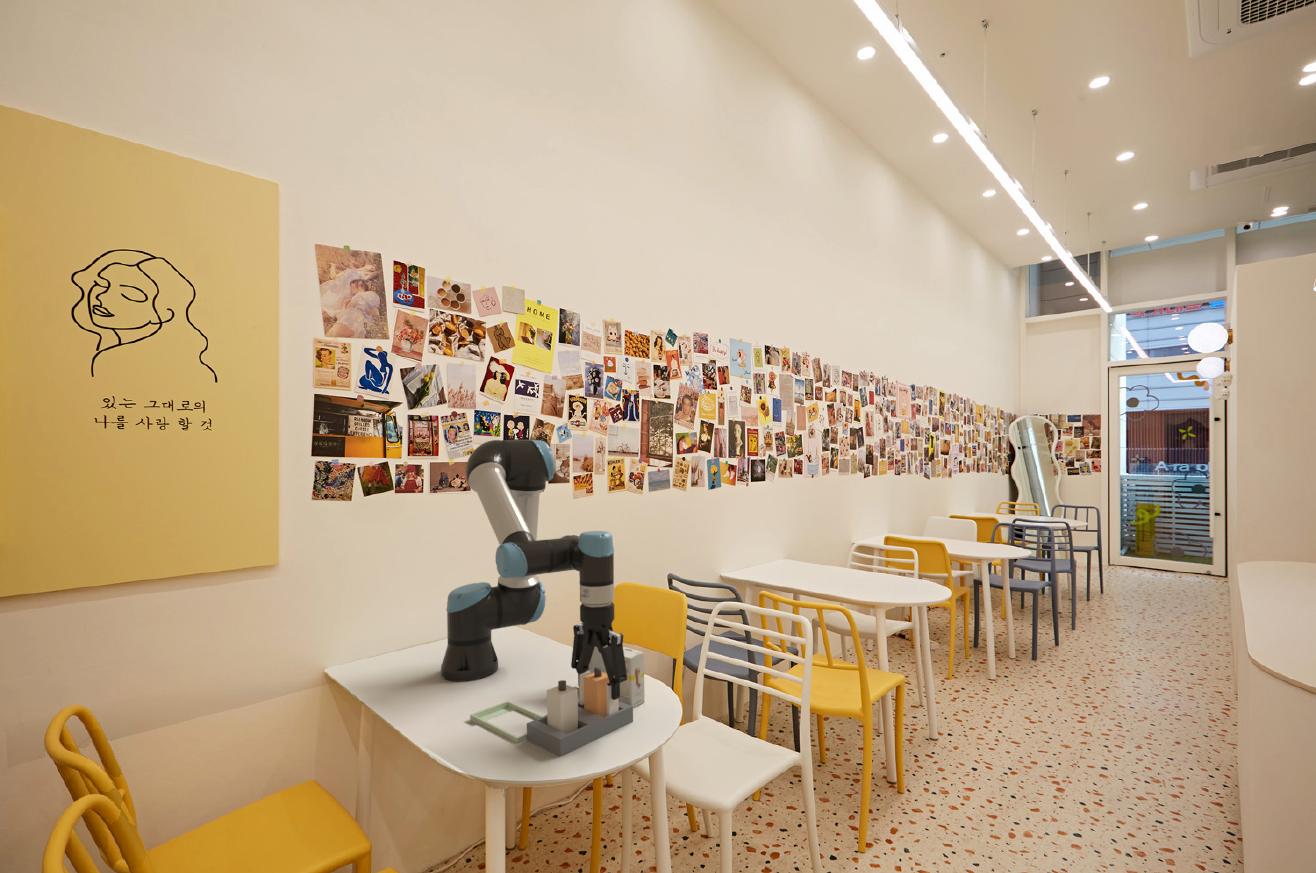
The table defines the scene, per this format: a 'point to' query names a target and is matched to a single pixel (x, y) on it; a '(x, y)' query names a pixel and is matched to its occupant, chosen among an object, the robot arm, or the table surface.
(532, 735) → the grey two-slot holder
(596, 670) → the orange knobbed block
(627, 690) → the ink box
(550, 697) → the white knobbed peg block
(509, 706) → the tray
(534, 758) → the table surface
